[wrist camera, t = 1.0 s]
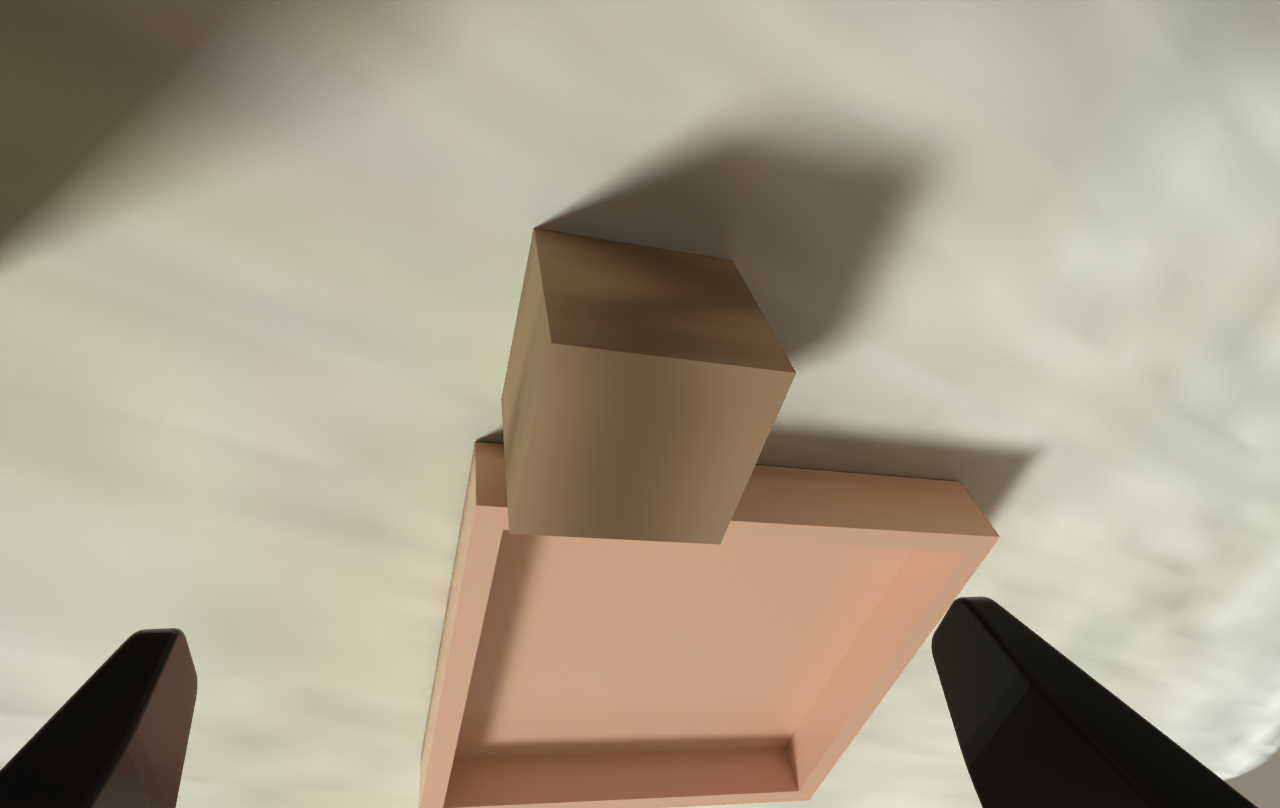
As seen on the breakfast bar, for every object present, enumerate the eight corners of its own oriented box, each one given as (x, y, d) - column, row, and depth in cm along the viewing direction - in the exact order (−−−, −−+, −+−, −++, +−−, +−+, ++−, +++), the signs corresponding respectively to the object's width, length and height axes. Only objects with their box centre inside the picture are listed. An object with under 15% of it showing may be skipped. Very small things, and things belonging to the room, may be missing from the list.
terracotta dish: (960, 481, 26) (1000, 536, 24) (790, 744, 35) (809, 800, 33) (475, 441, 22) (476, 505, 20) (421, 754, 31) (417, 820, 29)
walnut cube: (731, 258, 20) (796, 373, 16) (676, 414, 23) (720, 544, 19) (533, 226, 18) (551, 343, 14) (501, 397, 21) (509, 534, 17)
